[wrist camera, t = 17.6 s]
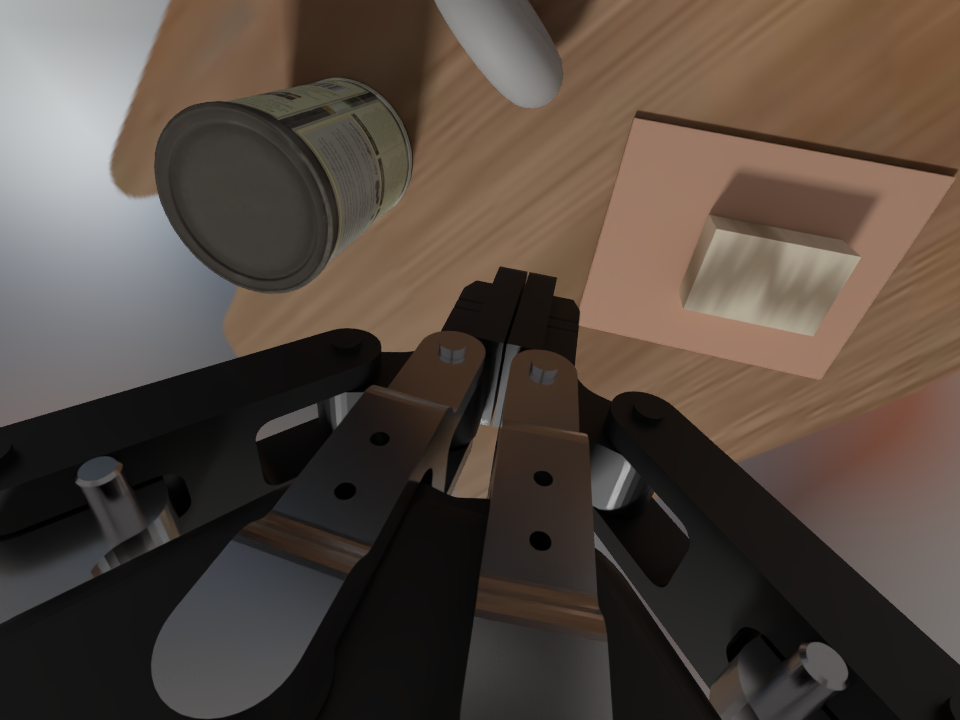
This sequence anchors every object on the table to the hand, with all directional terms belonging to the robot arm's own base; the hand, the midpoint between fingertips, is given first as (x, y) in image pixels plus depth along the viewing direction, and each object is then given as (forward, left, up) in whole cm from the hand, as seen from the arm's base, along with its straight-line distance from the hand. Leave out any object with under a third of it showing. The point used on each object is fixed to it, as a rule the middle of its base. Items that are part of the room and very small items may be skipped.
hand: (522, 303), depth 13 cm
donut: (-5, -5, -26) cm, 28 cm away
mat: (+7, +14, -26) cm, 30 cm away
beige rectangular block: (+7, +10, -24) cm, 27 cm away
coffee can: (+5, -16, -26) cm, 31 cm away
